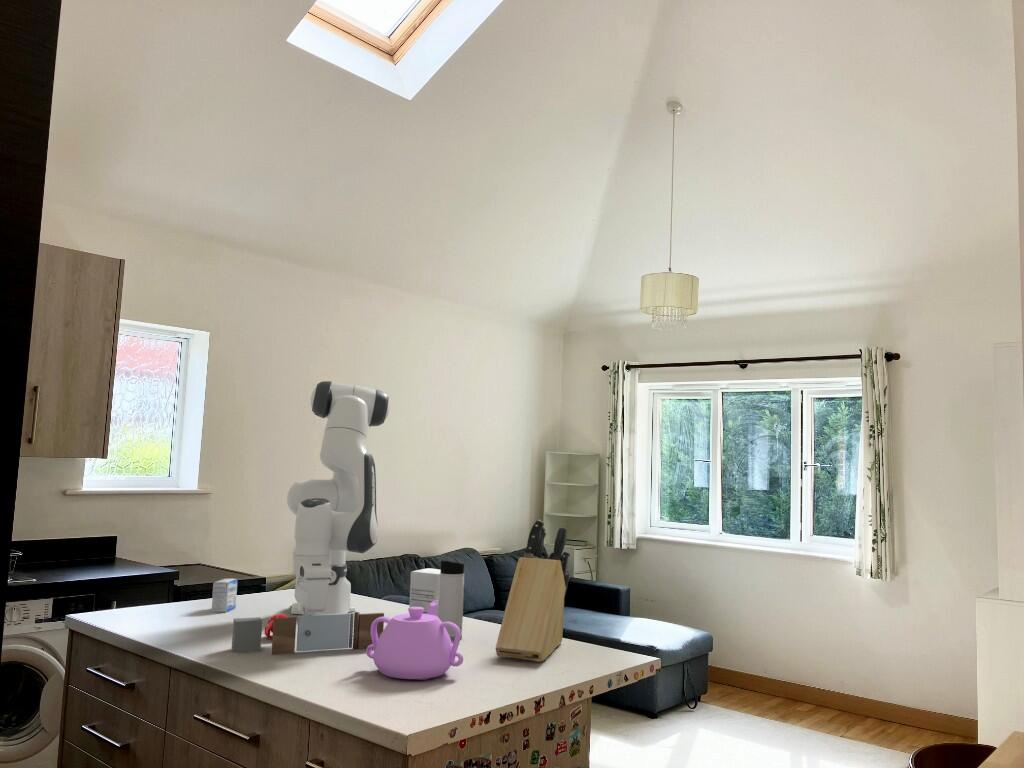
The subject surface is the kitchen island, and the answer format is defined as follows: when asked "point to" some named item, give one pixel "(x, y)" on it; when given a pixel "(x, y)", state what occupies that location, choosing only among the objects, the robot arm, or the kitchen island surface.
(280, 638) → the door frame
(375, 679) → the kitchen island surface
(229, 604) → the medicine box
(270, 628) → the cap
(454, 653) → the teapot
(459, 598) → the travel mug
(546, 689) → the kitchen island surface
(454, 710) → the kitchen island surface
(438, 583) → the supplement box
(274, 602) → the kitchen island surface
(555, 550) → the knife block
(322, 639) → the door
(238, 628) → the block
